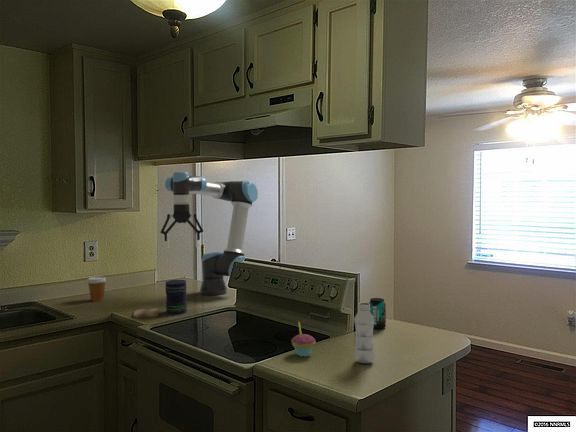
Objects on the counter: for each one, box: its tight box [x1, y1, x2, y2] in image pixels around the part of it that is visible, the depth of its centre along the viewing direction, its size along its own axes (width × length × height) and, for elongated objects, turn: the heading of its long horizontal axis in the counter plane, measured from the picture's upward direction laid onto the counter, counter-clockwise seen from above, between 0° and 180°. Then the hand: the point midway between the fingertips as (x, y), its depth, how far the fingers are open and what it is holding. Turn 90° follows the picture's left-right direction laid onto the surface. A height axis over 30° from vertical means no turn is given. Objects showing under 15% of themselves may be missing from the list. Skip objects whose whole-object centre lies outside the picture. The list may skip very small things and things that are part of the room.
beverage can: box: [368, 297, 387, 330], centre depth 209 cm, size 7×7×12 cm
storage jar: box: [165, 279, 188, 316], centre depth 239 cm, size 10×10×15 cm
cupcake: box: [290, 320, 317, 357], centre depth 177 cm, size 9×8×12 cm
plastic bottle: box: [354, 302, 376, 365], centre depth 168 cm, size 6×7×20 cm
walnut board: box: [132, 308, 160, 318], centre depth 236 cm, size 11×10×1 cm
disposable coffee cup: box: [86, 276, 107, 302], centre depth 267 cm, size 10×10×12 cm
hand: (182, 247), depth 242 cm, fingers open, 13 cm apart
